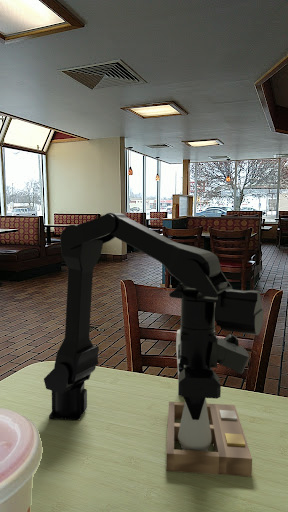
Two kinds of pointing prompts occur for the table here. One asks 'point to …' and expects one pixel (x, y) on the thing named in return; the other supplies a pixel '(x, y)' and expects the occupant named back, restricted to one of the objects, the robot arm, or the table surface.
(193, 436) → the salt shaker
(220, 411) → the socket block
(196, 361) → the robot arm
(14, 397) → the table surface
